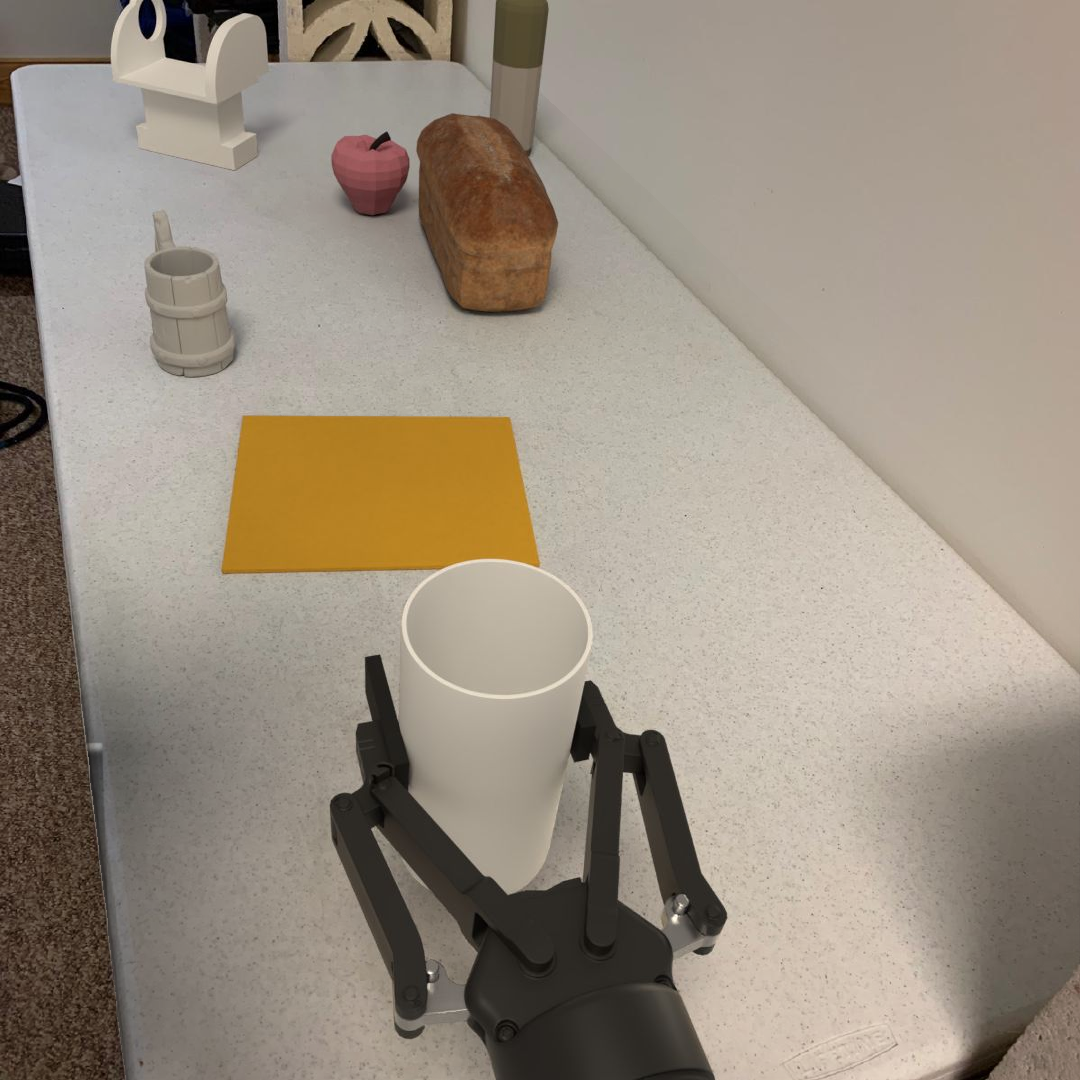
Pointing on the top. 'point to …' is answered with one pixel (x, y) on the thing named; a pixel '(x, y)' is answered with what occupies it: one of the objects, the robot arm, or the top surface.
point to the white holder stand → (192, 88)
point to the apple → (370, 171)
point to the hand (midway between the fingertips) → (460, 659)
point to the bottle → (518, 65)
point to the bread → (485, 213)
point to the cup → (492, 707)
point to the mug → (186, 307)
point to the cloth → (376, 494)
